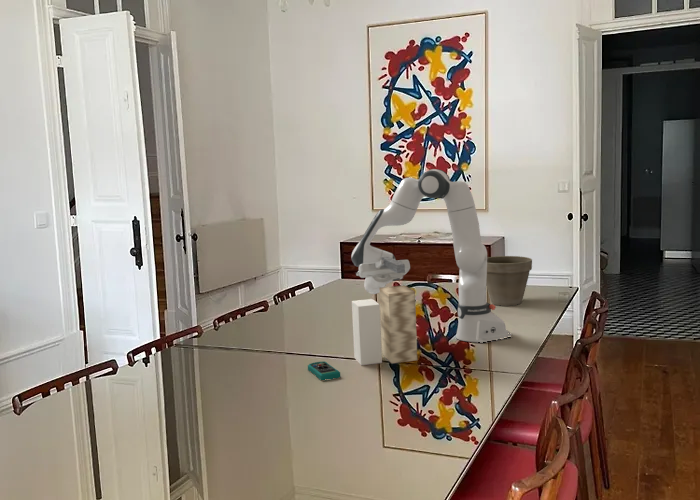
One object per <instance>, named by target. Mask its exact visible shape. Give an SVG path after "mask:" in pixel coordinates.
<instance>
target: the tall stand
mask: <svg viewBox="0 0 700 500" xmlns="http://www.w3.org/2000/svg"><path fill="white" fill-rule="evenodd" d="M379 289H380V292H379V304H380V326H381V350H382V357H384V358H385V359H387V361H388V362H389V363H390V364H397V363H405V362H413V361H418V340H417V337H418V335H417V316H416V315H417V314H416V291H415V290H413V289H412V288H410V287H408V286H407V285H394V286H385V287H382V288H379Z"/></svg>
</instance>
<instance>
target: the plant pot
mask: <svg viewBox="0 0 700 500" xmlns="http://www.w3.org/2000/svg"><path fill="white" fill-rule="evenodd" d="M532 267H533V259H532V258H531V257H526V256H520V255H518V256H517V255H497V256H487V279H486V291H487V293H488V296H489V300H490V304H493V305H495V306H499V305H501V307H511V306H510V305H514V306H518V305H517V304H519V305H521V304H522V302H523V299H524V296H525V292H526V288H527V285H528V280H529V276H530V273H531V272H530V271H531V270H532ZM520 303H521V304H520Z"/></svg>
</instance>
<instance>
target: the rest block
mask: <svg viewBox="0 0 700 500" xmlns="http://www.w3.org/2000/svg"><path fill="white" fill-rule="evenodd" d="M351 315H352V316H351V317H352V335H353V336H352V337H353V354H354V356H353V357H354V359H355V360H356V361H357V362H358V363H359V365H360V366H366V365H367V366H368V365H376V364H382V363H383V355H382V336H381V312H380V303H378V302H377V301H376V300H374V299H373V298H368V299H359V300H357V299H356V300H351Z"/></svg>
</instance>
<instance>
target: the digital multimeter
mask: <svg viewBox="0 0 700 500" xmlns="http://www.w3.org/2000/svg"><path fill="white" fill-rule="evenodd" d="M307 371H308V372H310V371H311V372H312V374H313V375H314V374H315V375H316V376H315V375H314V376H315V377H316V378H317V379H318V380H320V379H321V380H325V379H331V380H334V379H333V378H336V379H340V378H341V371H339V370H337V369H336V368H335V367H333V366H332V365H331V364H329V363H328V362H327V361H325V360H323V361H316V362H315V361H314V362H311V363H309V364H308V365H307ZM311 372H310V373H311ZM339 377H340V378H339ZM321 380H320V381H321ZM325 381H326V380H325Z"/></svg>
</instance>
